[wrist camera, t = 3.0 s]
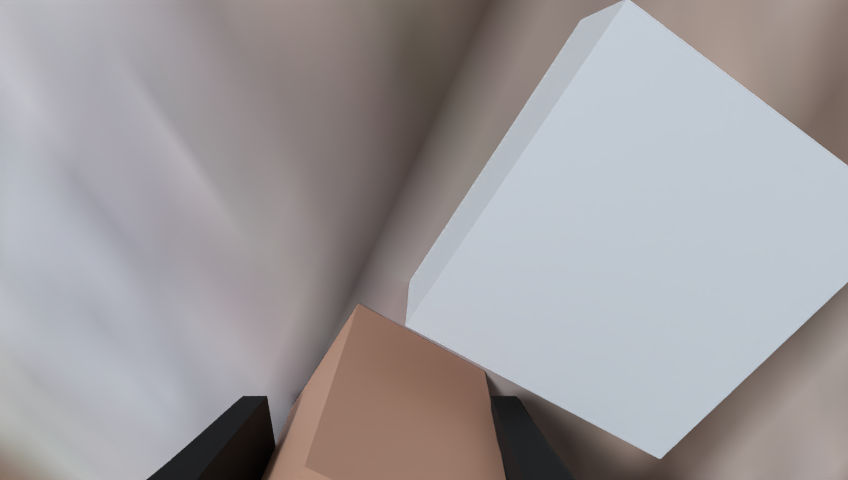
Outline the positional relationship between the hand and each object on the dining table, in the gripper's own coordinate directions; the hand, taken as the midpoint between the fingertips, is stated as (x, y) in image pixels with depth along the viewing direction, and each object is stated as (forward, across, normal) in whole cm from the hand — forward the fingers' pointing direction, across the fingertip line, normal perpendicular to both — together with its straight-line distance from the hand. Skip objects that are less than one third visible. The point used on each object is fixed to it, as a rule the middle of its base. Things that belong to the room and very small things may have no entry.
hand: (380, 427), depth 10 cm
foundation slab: (+2, -6, -4) cm, 7 cm away
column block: (+1, 0, 0) cm, 1 cm away
